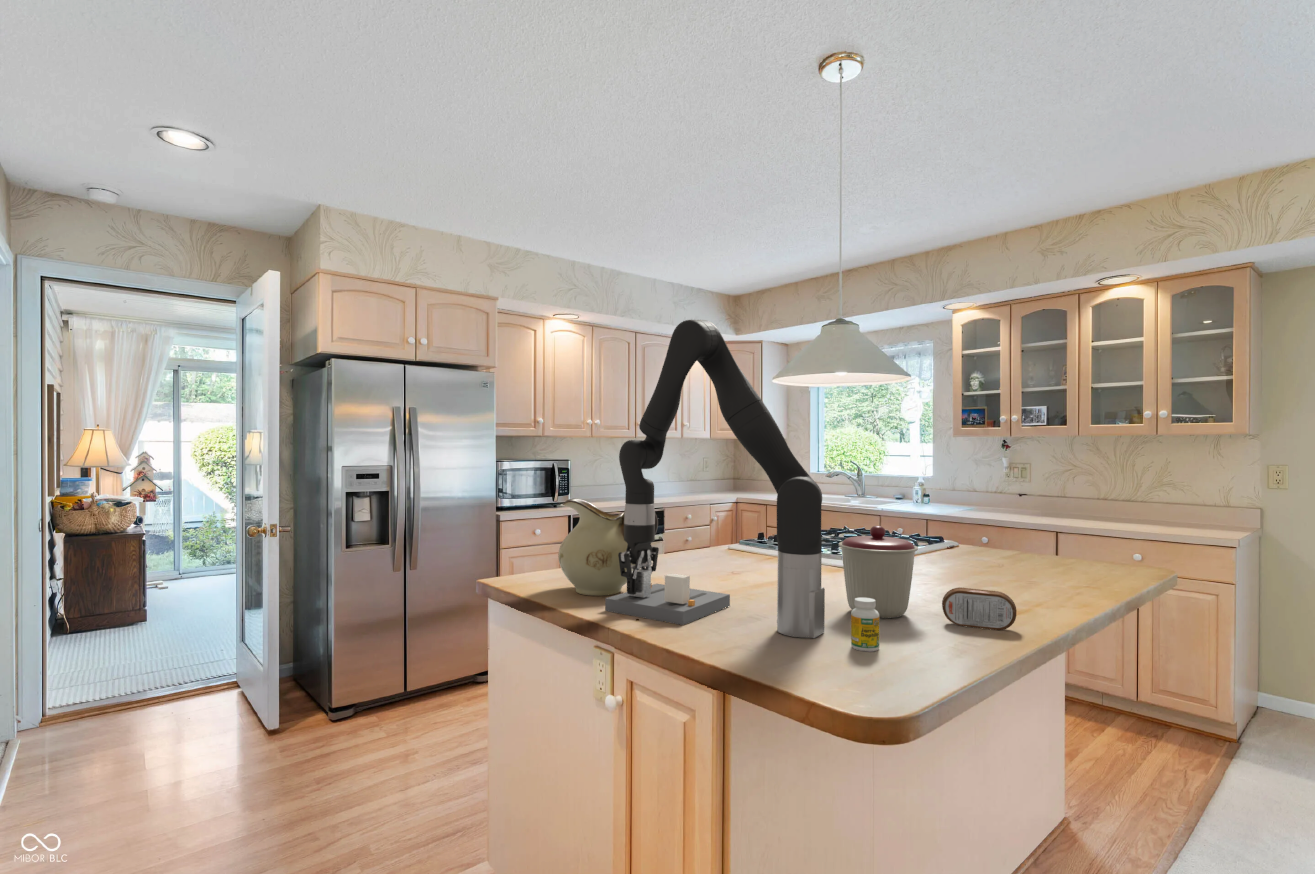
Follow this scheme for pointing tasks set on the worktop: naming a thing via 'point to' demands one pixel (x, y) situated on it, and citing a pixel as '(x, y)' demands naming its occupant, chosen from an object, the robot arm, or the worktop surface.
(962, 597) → the tin
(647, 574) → the light grey block
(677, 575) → the block
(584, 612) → the worktop surface
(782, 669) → the worktop surface
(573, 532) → the pitcher
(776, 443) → the robot arm
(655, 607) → the grey slotted tray
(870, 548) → the canister
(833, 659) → the worktop surface
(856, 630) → the supplement bottle
